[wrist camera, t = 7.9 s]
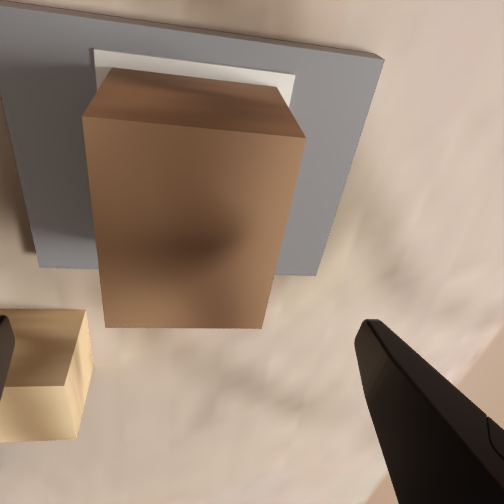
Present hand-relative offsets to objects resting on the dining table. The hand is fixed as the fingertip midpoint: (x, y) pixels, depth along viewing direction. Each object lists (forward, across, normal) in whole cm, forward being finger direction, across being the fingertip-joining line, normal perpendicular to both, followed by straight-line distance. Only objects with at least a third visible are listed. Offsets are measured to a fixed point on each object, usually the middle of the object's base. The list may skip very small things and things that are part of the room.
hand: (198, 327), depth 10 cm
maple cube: (+10, +8, +12) cm, 18 cm away
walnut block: (+9, 0, 0) cm, 9 cm away
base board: (+10, 0, 0) cm, 10 cm away
